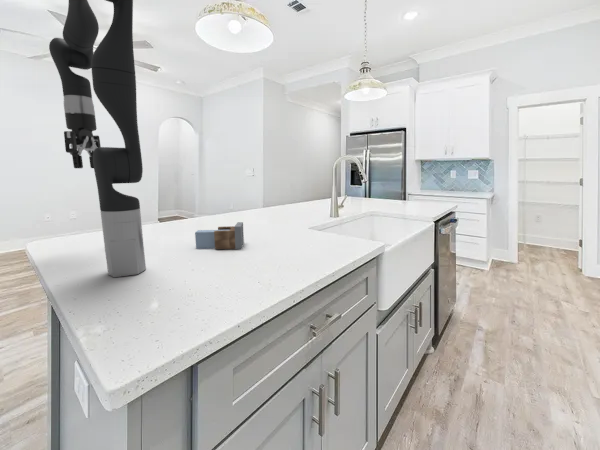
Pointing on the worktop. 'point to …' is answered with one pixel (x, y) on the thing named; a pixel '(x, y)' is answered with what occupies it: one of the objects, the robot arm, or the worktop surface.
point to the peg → (205, 239)
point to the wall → (239, 235)
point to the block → (225, 238)
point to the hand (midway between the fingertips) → (87, 168)
